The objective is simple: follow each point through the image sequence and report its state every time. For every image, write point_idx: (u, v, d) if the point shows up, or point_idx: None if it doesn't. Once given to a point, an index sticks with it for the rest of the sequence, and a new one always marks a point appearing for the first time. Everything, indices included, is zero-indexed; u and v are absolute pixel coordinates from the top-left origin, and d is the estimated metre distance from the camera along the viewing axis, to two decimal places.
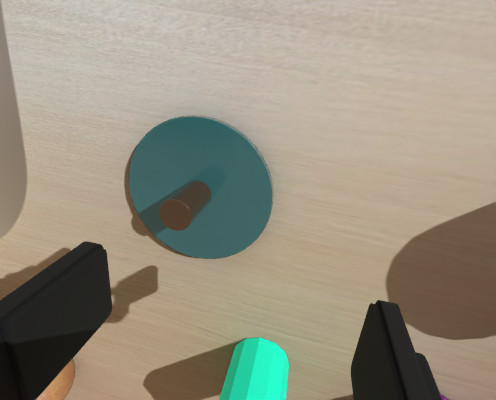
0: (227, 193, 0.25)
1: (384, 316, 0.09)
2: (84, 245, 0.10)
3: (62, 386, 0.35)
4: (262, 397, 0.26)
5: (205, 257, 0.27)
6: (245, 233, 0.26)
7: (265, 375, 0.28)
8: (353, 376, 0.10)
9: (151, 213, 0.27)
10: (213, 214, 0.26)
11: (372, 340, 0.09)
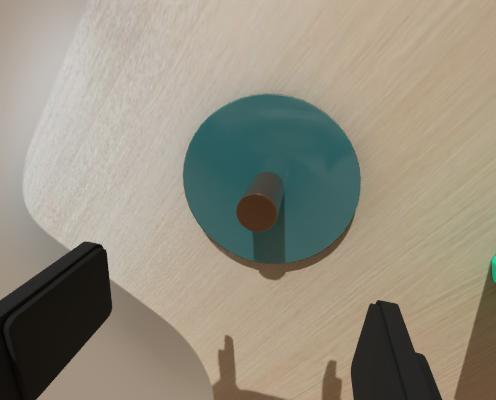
0: (283, 155, 0.20)
1: (384, 316, 0.09)
2: (84, 245, 0.10)
3: None
4: None
5: (343, 229, 0.21)
6: (342, 165, 0.20)
7: None
8: (353, 376, 0.10)
9: (261, 248, 0.23)
10: (298, 186, 0.21)
11: (372, 340, 0.09)
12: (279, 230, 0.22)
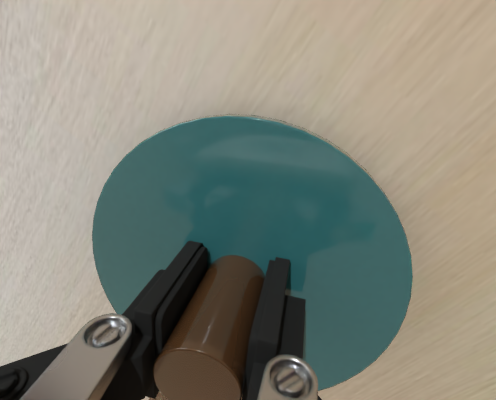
0: (265, 230, 0.11)
1: (274, 267, 0.10)
2: (190, 244, 0.11)
3: None
4: None
5: (374, 357, 0.12)
6: (377, 253, 0.10)
7: None
8: None
9: None
10: (293, 282, 0.11)
11: None
12: None
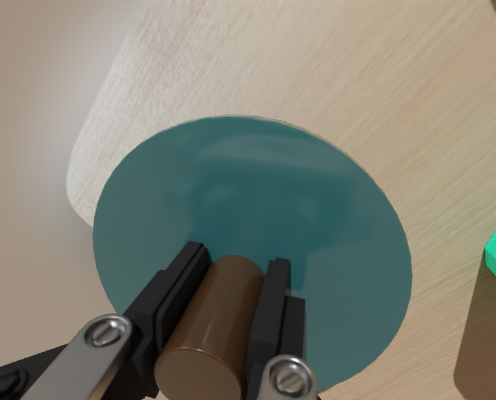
0: (265, 229, 0.11)
1: (274, 267, 0.10)
2: (190, 244, 0.11)
3: None
4: None
5: (374, 356, 0.12)
6: (376, 252, 0.10)
7: None
8: None
9: None
10: (293, 282, 0.11)
11: None
12: None
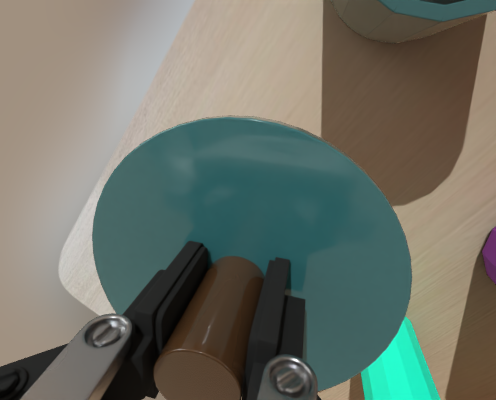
0: (265, 230, 0.11)
1: (274, 267, 0.10)
2: (191, 244, 0.11)
3: None
4: None
5: (373, 357, 0.12)
6: (376, 254, 0.10)
7: None
8: None
9: None
10: (292, 283, 0.11)
11: None
12: None
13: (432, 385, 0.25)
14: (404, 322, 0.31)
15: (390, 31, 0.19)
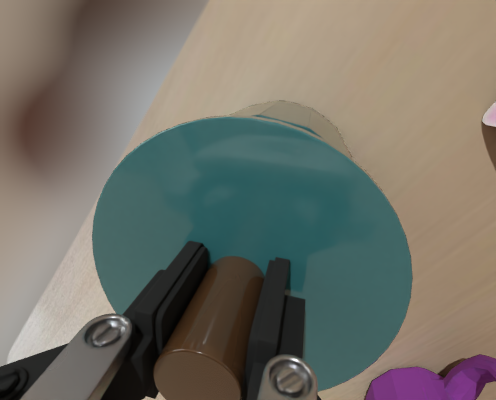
0: (265, 230, 0.11)
1: (274, 267, 0.10)
2: (191, 244, 0.11)
3: None
4: None
5: (374, 358, 0.12)
6: (377, 254, 0.10)
7: None
8: None
9: None
10: (293, 283, 0.11)
11: None
12: None
13: None
14: None
15: None
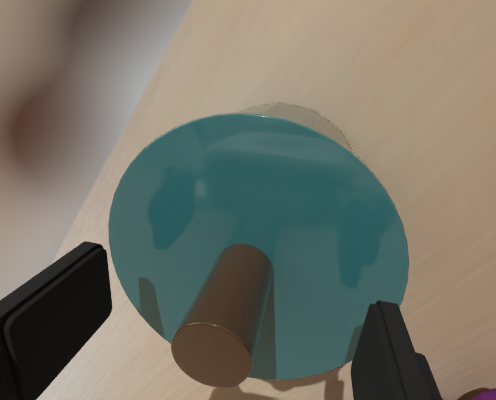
0: (271, 220, 0.12)
1: (384, 316, 0.09)
2: (84, 245, 0.10)
3: None
4: None
5: None
6: (375, 241, 0.11)
7: None
8: (353, 376, 0.10)
9: None
10: (297, 270, 0.12)
11: (372, 340, 0.09)
12: (266, 333, 0.14)
13: None
14: None
15: None
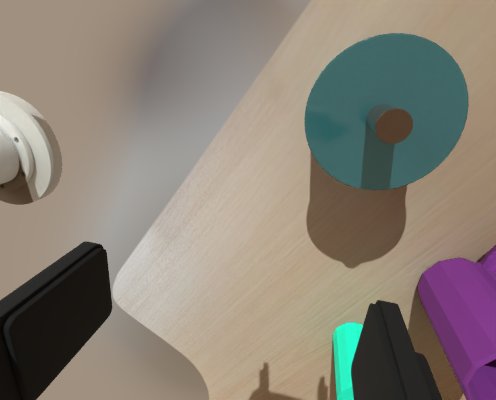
0: (401, 88, 0.24)
1: (384, 316, 0.09)
2: (84, 245, 0.10)
3: None
4: (346, 356, 0.41)
5: (446, 154, 0.25)
6: (452, 95, 0.24)
7: (344, 344, 0.43)
8: (353, 376, 0.10)
9: (369, 176, 0.27)
10: (410, 116, 0.25)
11: (372, 340, 0.09)
12: (388, 158, 0.26)
13: None
14: None
15: None
